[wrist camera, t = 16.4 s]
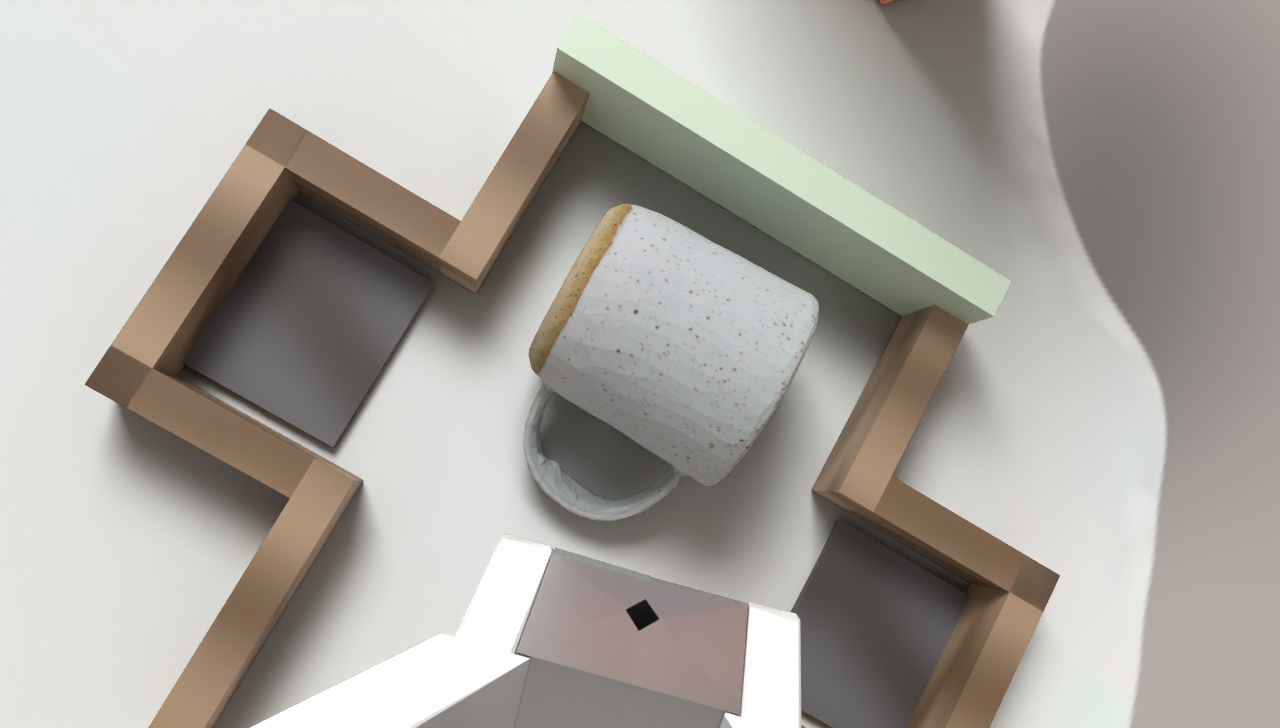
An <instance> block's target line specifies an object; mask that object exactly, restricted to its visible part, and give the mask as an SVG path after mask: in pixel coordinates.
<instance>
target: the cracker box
mask: <svg viewBox="0 0 1280 728" xmlns="http://www.w3.org/2000/svg"><path fill="white" fill-rule="evenodd" d="M879 1H880V3H881V4H883V5H884V4H887V3H889V2H892V1H894V0H879Z"/></svg>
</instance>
